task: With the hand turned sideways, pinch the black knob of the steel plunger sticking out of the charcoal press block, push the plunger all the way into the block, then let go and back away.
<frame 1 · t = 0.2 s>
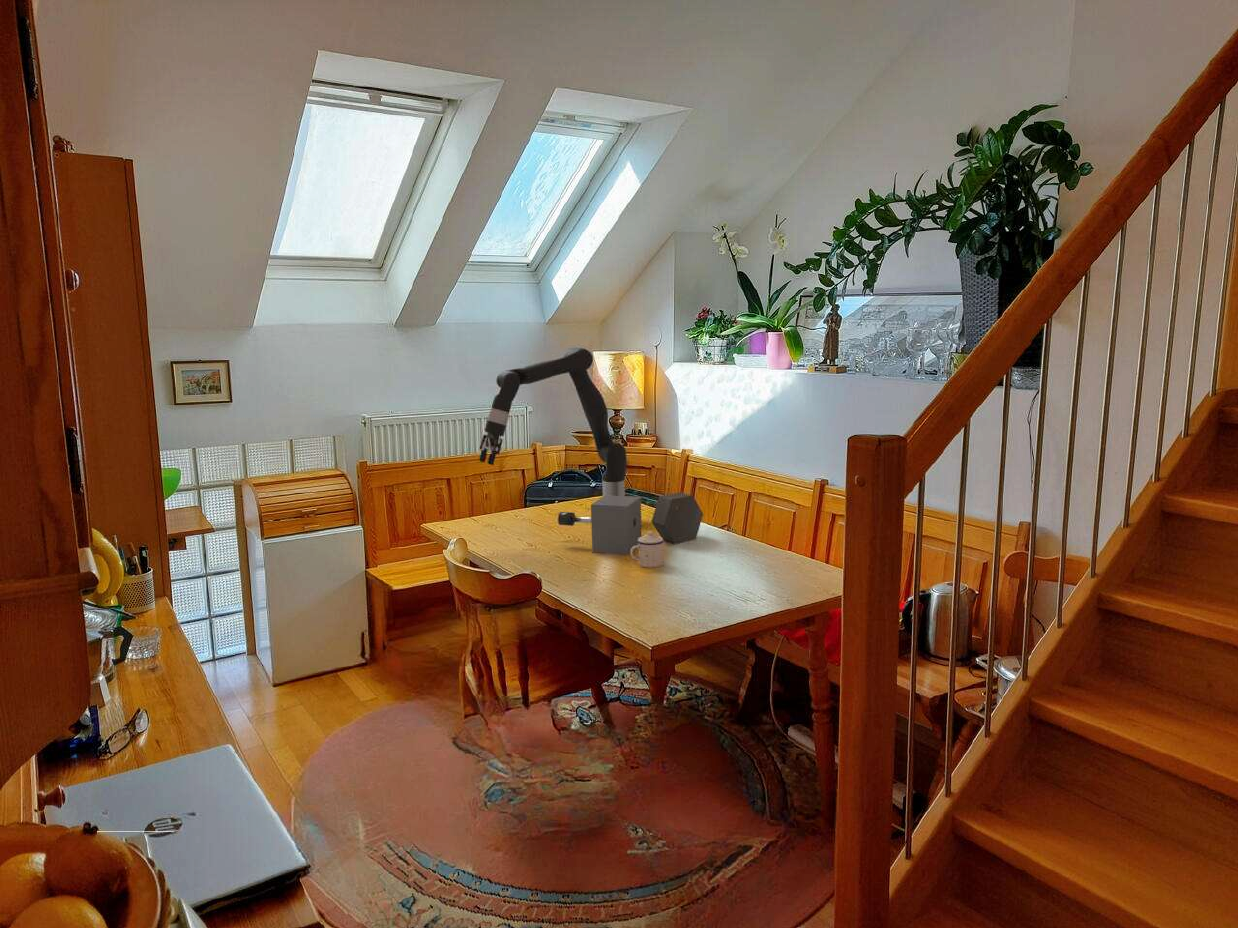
hand: (485, 463, 328), 31 cm above the table, tool tilted 20°, fingers open, 8 cm apart
dark grey hexagonal block: (677, 540, 329), on the table
teacup with lid: (647, 565, 298), on the table
press block: (617, 547, 320), on the table
plunger: (584, 519, 323), point 10 cm above the table, slide at 10.0 cm
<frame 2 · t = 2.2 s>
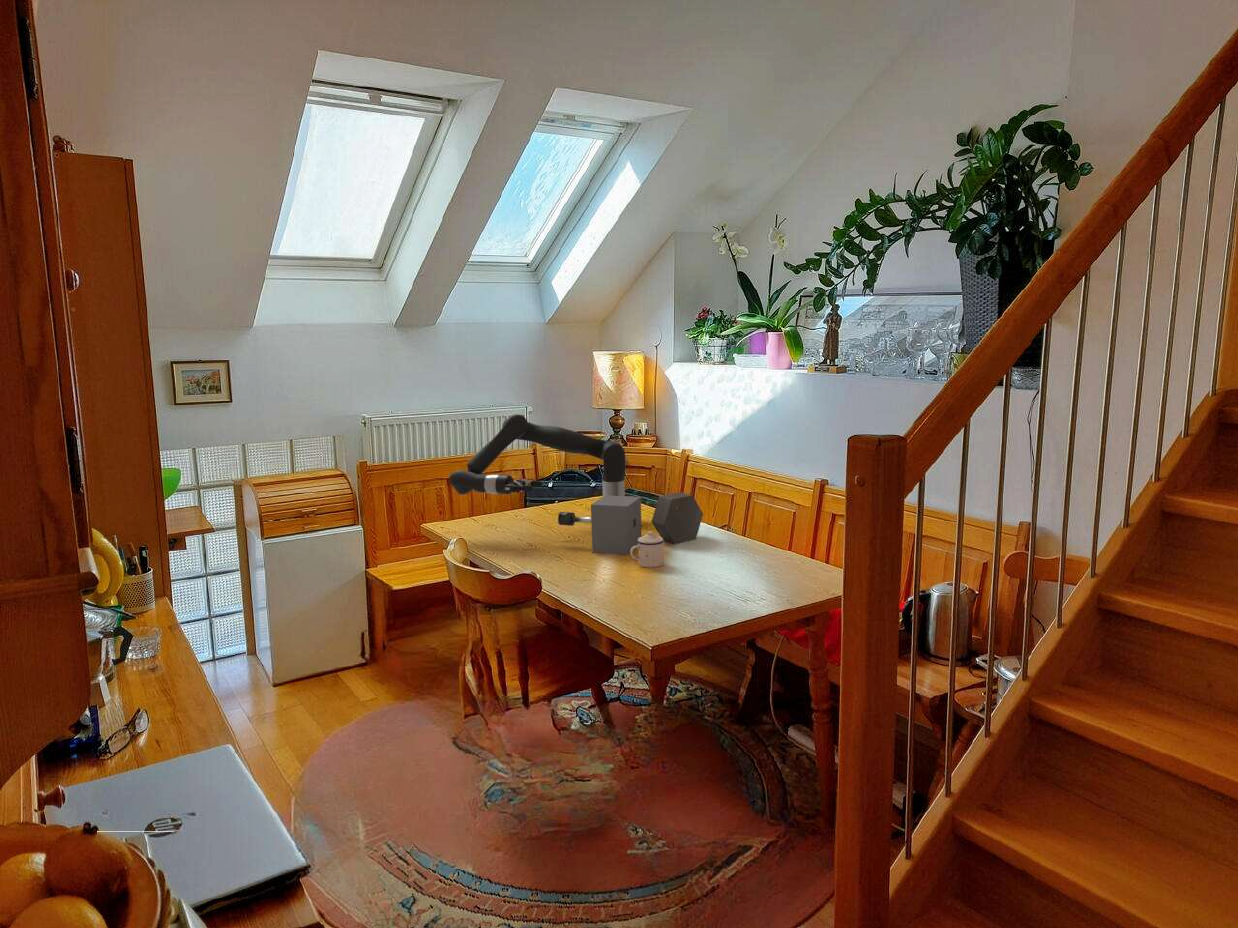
hand: (537, 486, 327), 22 cm above the table, tool horizontal, fingers open, 8 cm apart
nothing on the table moved.
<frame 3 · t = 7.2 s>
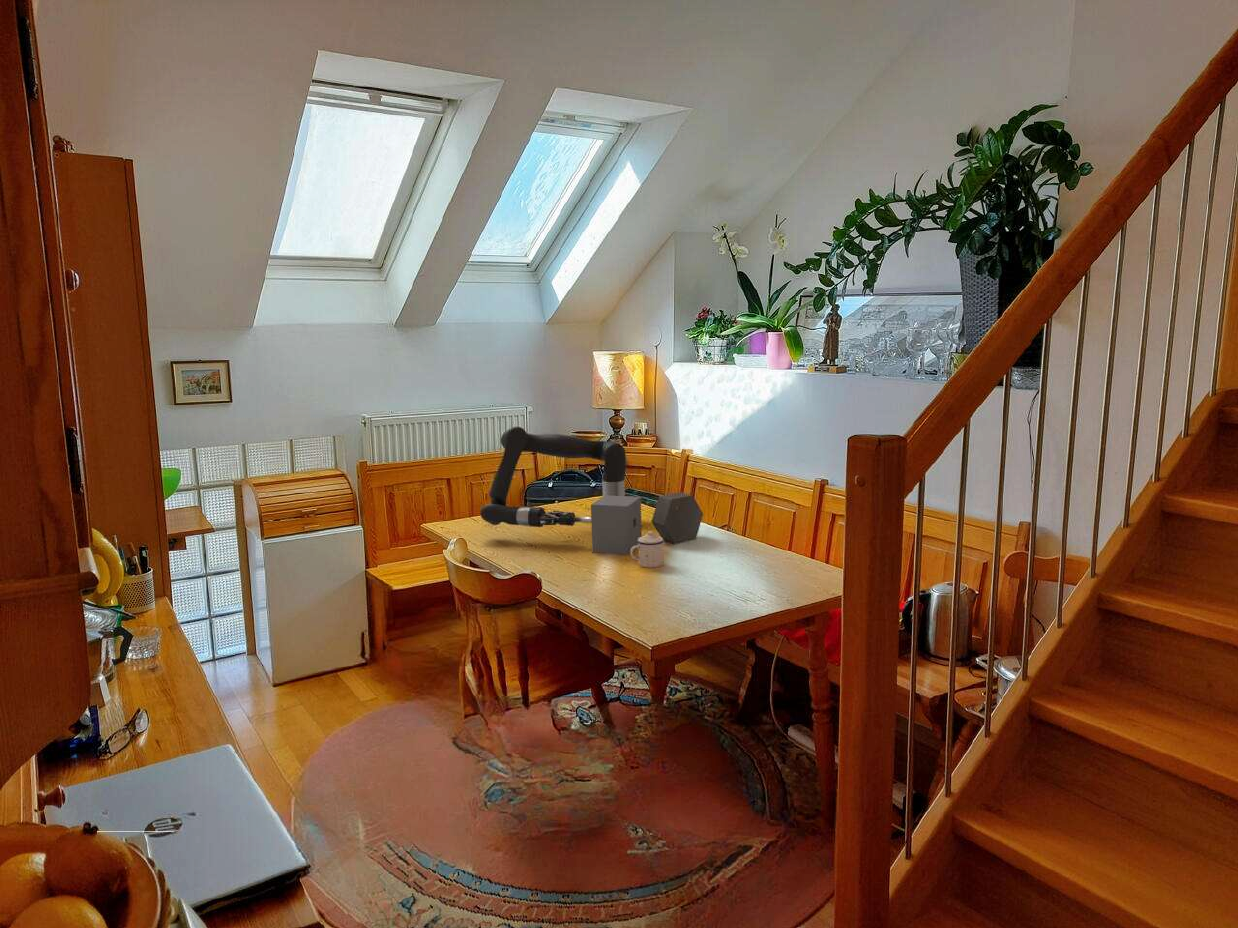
hand: (571, 519, 324), 10 cm above the table, tool horizontal, fingers closed on plunger, 5 cm apart
plunger: (584, 519, 323), point 10 cm above the table, slide at 10.0 cm, touching gripper
everything else where it was.
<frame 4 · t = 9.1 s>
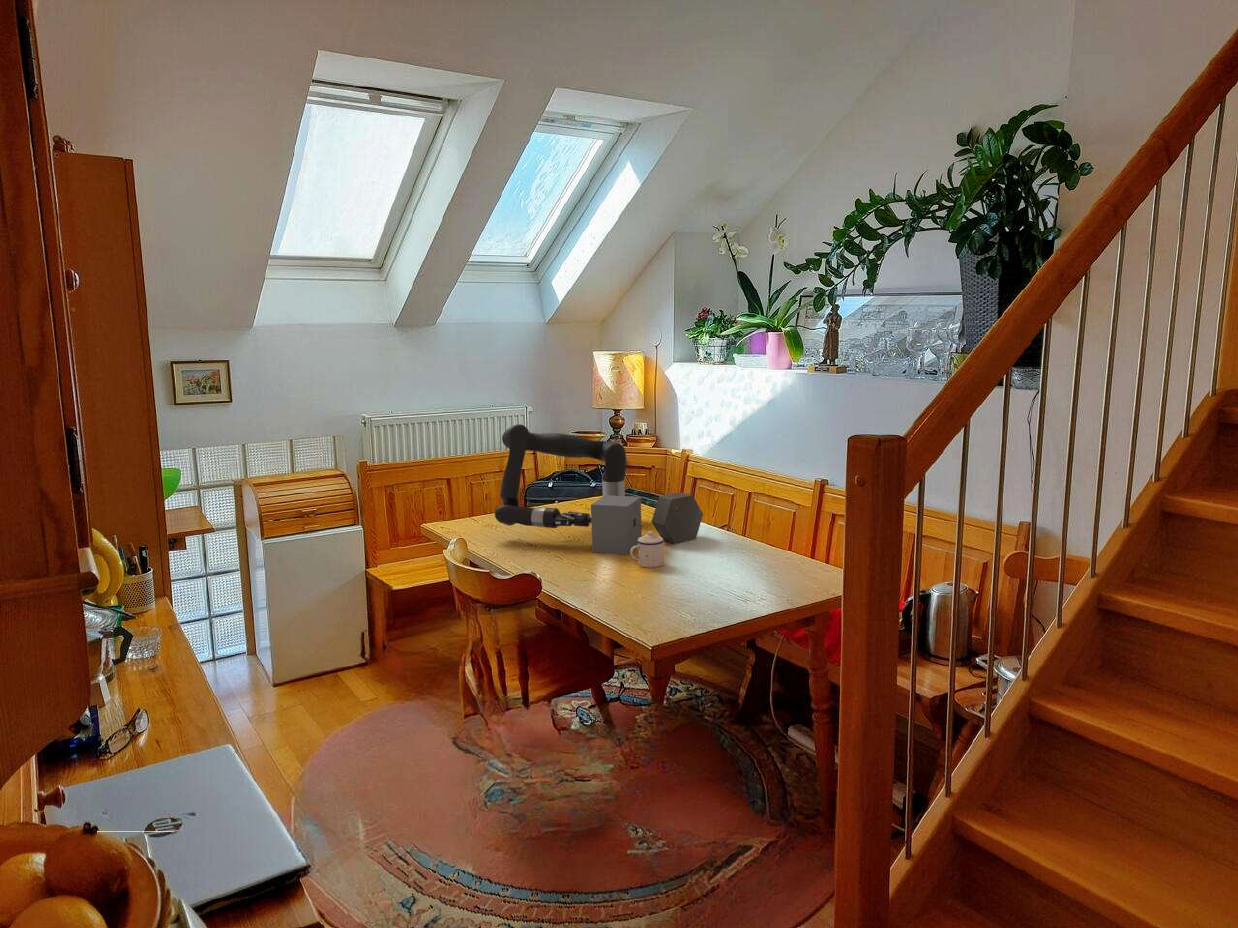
hand: (587, 519, 323), 10 cm above the table, tool horizontal, fingers closed on plunger, 5 cm apart
plunger: (599, 520, 321), point 10 cm above the table, slide at 3.8 cm, touching gripper
everything else where it was.
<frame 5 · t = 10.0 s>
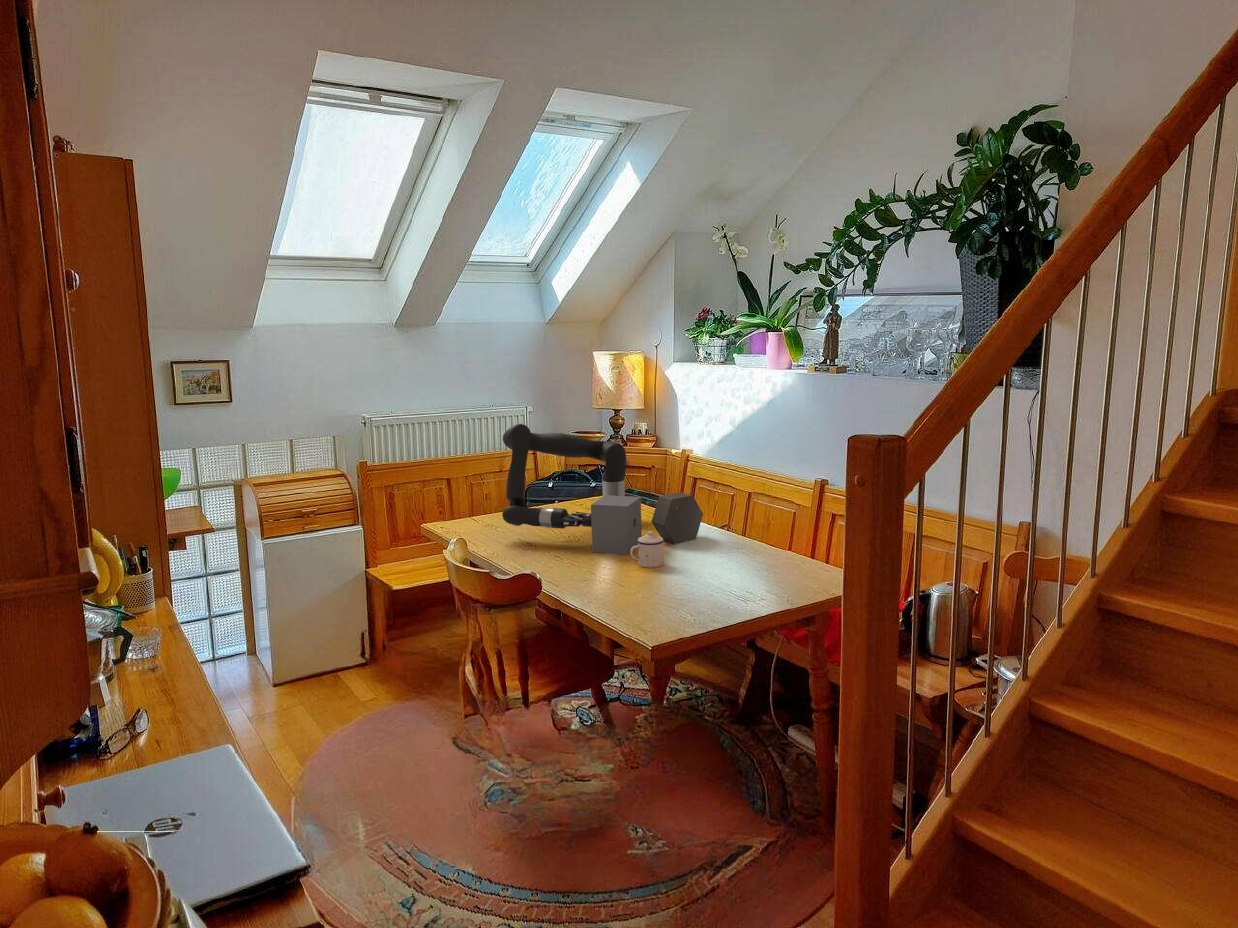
hand: (595, 520, 321), 10 cm above the table, tool horizontal, fingers closed on plunger, 5 cm apart
plunger: (607, 521, 320), point 10 cm above the table, slide at 0.6 cm, touching gripper
everything else where it was.
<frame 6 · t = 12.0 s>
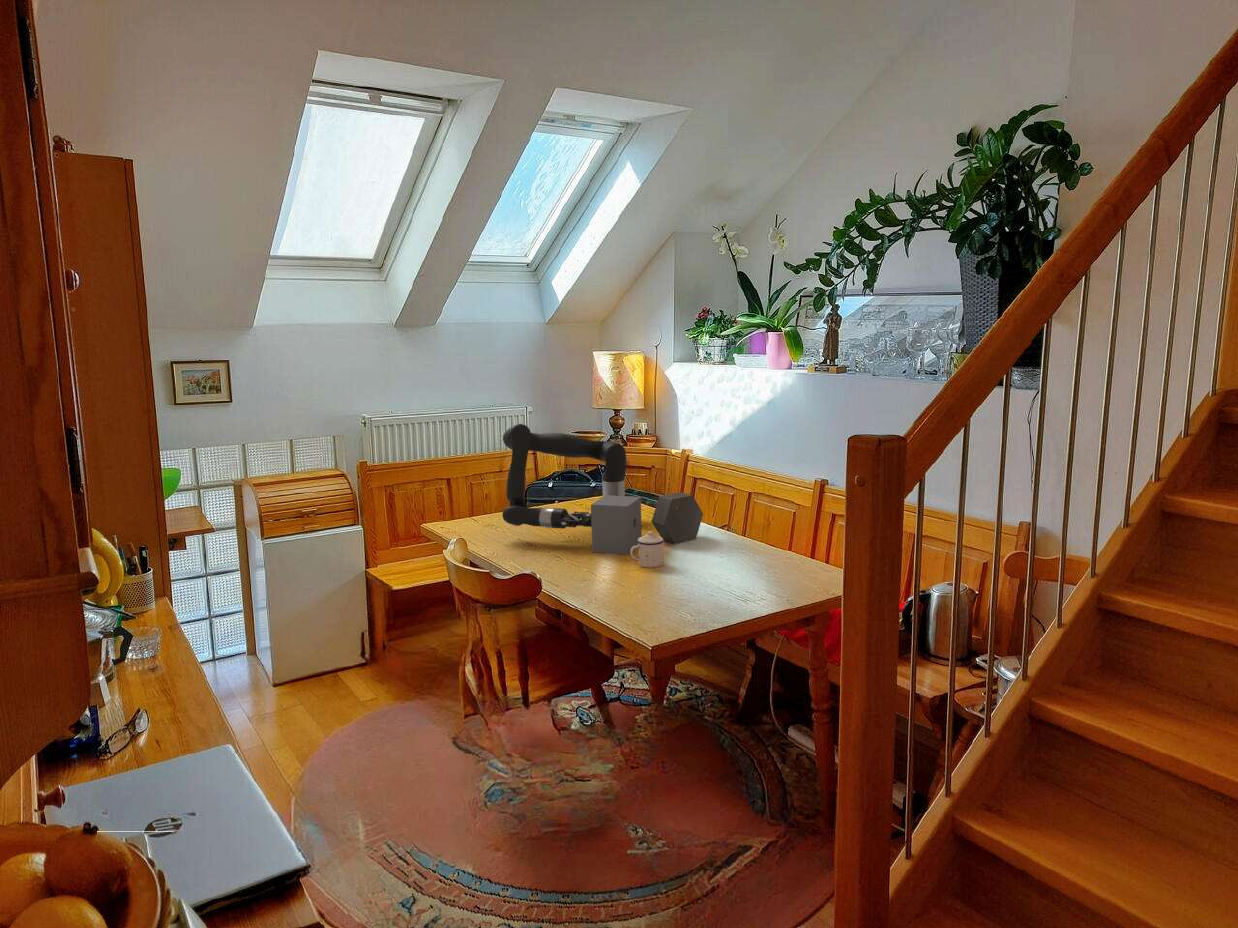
hand: (593, 520, 322), 10 cm above the table, tool horizontal, fingers open, 8 cm apart
plunger: (607, 521, 320), point 10 cm above the table, slide at 0.5 cm
everything else where it was.
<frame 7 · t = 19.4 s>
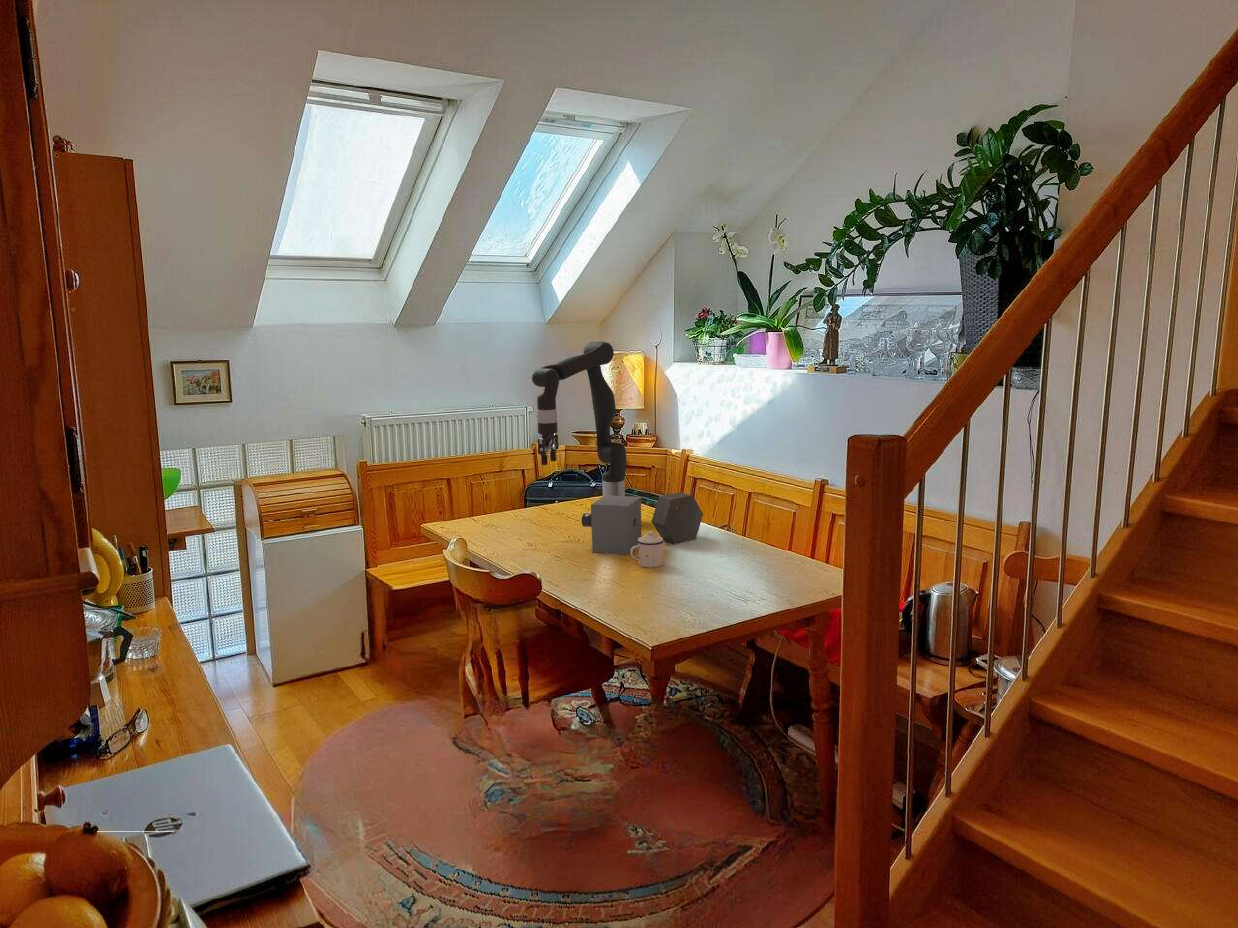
hand: (549, 463, 330), 30 cm above the table, tool pointing down, fingers open, 8 cm apart
nothing on the table moved.
at the end: plunger slide at 0.5 cm; the gripper is holding nothing; teacup with lid moved 0.2 cm from its start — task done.
